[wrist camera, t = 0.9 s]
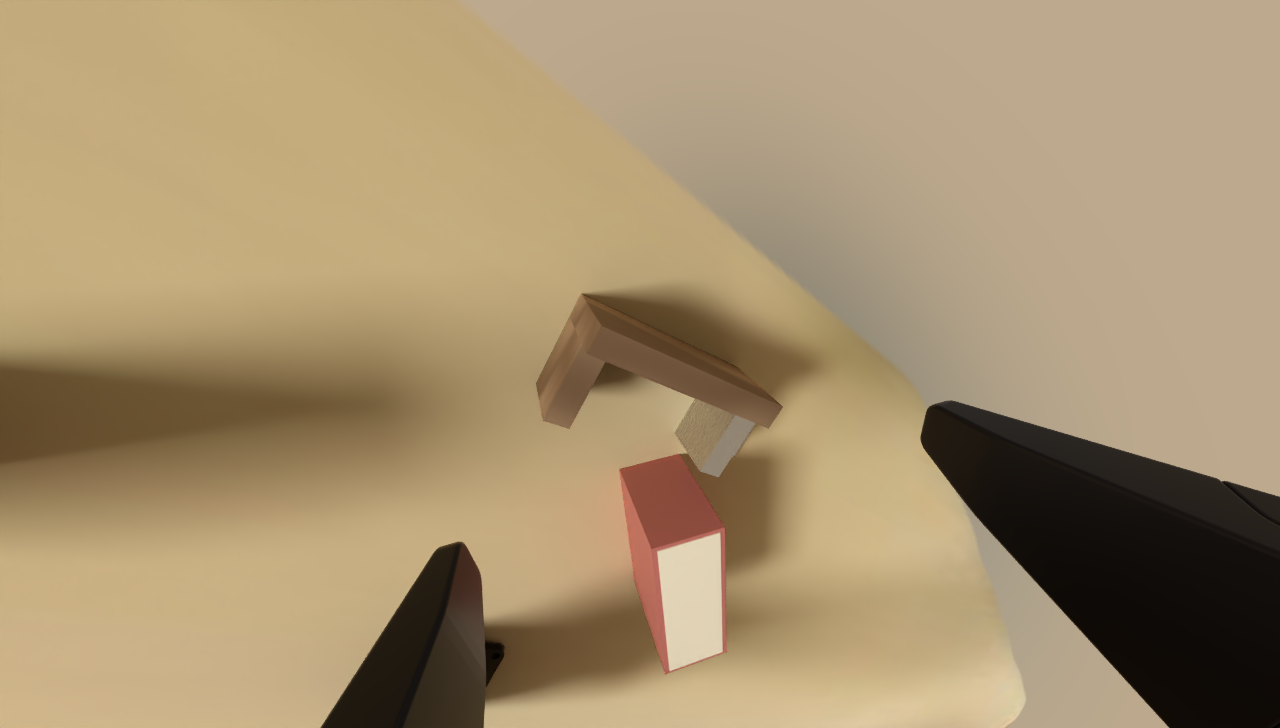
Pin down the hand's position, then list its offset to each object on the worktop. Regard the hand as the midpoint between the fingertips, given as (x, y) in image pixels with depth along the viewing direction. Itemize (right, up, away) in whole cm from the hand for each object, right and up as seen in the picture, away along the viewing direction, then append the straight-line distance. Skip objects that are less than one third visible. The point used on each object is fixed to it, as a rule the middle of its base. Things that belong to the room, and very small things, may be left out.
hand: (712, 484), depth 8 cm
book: (0, -7, +19) cm, 20 cm away
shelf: (-2, +1, +15) cm, 15 cm away
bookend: (+3, -1, +17) cm, 17 cm away
